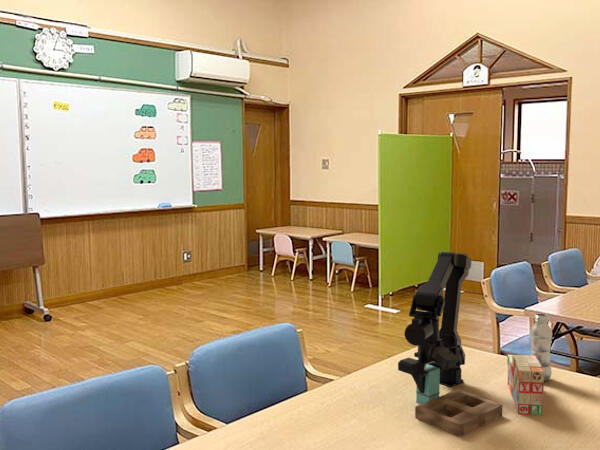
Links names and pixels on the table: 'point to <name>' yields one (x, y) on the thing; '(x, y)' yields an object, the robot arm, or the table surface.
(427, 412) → the walnut board
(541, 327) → the plastic bottle
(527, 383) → the stack of blocks
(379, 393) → the table surface
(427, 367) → the teal peg
